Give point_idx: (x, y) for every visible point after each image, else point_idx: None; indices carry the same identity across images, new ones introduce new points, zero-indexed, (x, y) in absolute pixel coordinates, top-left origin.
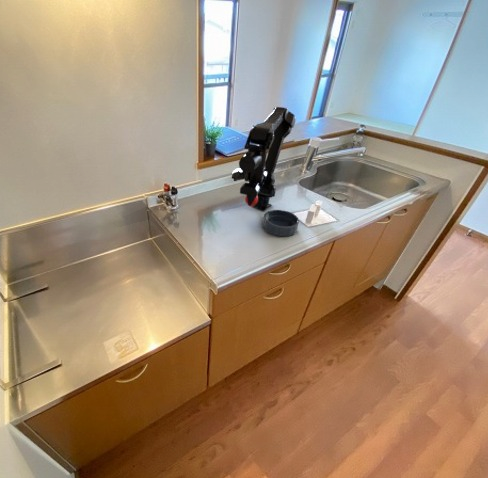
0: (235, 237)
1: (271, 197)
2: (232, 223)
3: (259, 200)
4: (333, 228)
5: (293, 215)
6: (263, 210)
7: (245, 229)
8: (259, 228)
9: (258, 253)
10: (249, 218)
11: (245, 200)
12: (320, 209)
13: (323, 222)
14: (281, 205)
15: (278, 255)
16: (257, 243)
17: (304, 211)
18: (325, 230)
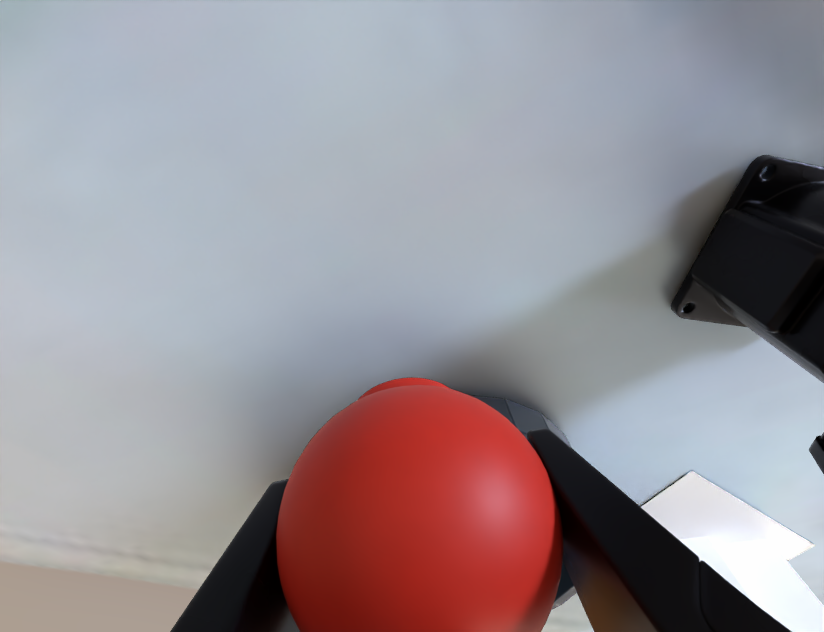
0: (28, 309)
1: (819, 448)
2: (223, 149)
3: (773, 307)
4: (591, 627)
5: (559, 591)
6: (672, 307)
7: (233, 319)
8: (341, 397)
9: (41, 508)
10: (453, 260)
11: (312, 448)
12: (795, 553)
13: None
14: (819, 382)
15: (143, 572)
16: (136, 463)
17: (746, 511)
18: (554, 616)
